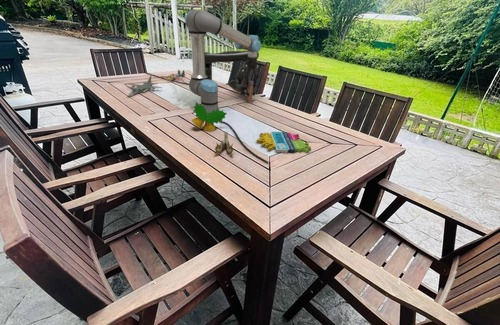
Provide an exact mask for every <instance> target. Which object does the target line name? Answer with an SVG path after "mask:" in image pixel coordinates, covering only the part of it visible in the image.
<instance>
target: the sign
mask: <svg viewBox="0 0 500 325" xmlns="http://www.w3.org/2000/svg"><path fill="white" fill-rule="evenodd" d="M299 136H300V135H299V134H298V133H296V134H294V133H291V132H287V131H270V132H264V133H263V132H260V133H259V139H258V138H257V139H256V143H257V144H261V148H263V147H264V148H265V149H267V151H268V152H271V151H272V150H273V149H275V152H276V153H283V154H285V153H287V154H288V153H290V154H293V153H296V152H298V153H301V152H305V153H310V151H311V150H312V149H311V148H312V146H309V142H304V141H303V139H302V138H299Z"/></svg>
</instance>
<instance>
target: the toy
mask: <svg viewBox="0 0 500 325" xmlns="http://www.w3.org/2000/svg"><path fill="white" fill-rule="evenodd" d="M185 76H186V73H185V70H182V72H181V70H180V69H178V70H177V74H176V73H171V74H169V75H168V76H163V75H160V77H161V78H160V79H162V78H166V79H165V80H166V81H169V82H172V81H171V80H177V81H178V80H180V81H185V78H184V77H185ZM180 77H181V78H180Z"/></svg>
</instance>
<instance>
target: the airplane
mask: <svg viewBox="0 0 500 325" xmlns="http://www.w3.org/2000/svg"><path fill="white" fill-rule="evenodd" d="M152 76H153V75H150V76H149V78H148V79H147V82H146V81H142V84H136V83H135V84H134V83H128V85H130V86H131V87H130V89H132V90H131V91H130V92H129V93H128V95H127V96H126V98H128V97H133V96H135V95H137V94H139V93H146V92H147V91H148V92H149V90H150V91H153V90H155V89H157V88H159V89H162V88H163V86H155V85H159V82H158V83H157V82H153V81H152Z"/></svg>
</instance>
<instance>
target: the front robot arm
mask: <svg viewBox="0 0 500 325" xmlns="http://www.w3.org/2000/svg"><path fill="white" fill-rule="evenodd" d="M184 18H185V19H184V24H185V25H186V27H187V29H188V35H190V39H191V58H192V59H191V60H192V61H191V62H192V74H191V75H190V79H189V82H188V84H189V85H188V88H189V90H190V92H191V93H193V94H194V95H196V96H197V97H200V104H201V106H204V109H206V112H208V113H211V112H212V110H214V111H216V110H217V109H219V111H221V110H220V108H219V102H218V99H219V98H218V97H219V87H218V82H216V80H213V79H212V80H208V77H207V75H206V74H205V52H206V49H205V48H206V46H205V37H206V36H207V33H210V34H212V35H214V36H220V37H222V38H224V39H226V40H227V41H230V42H233V43H234V47H235V49H236V50H243V51H248V60H247V65H243V64H242V66H244V74H243V79H244V80H245V81H244V82H245V86H246V87H247V88H248V81H249V79H248V78H249V75H250V73H251V70H252V72H253V77H254V78H253V80H252V81H254V85H253V88H256V84H257V79H259V78H260V68H261V65H259V64H258V59H257V58H256V57H257V52H258V53H259V52H260V50H261V49H262V42H261V41H259V35H255V34H249V35H246V34H245V33H243V32H241V31H239V30H237V29H235V28H234V27H232V26H230V25H229V24H227V23H225V22H223V20H222V19H221V18H219V17H217V16H215V14H212V13H211V12H210V11H207V10H199V9H194V10H193V9H191V10H190V11H188V12H187V13H186V14H185V17H184ZM247 67H248V71H247V73H246V68H247ZM208 113H207V115H208ZM218 123H222V124H225V125H227V126H228V127H229V128H230V129H231V130H232V132H233V133H234V134H235V136H236V138H237V140H238V141H239V143H240V144H241V145H242V146H243V147H244V148H245V149H246V150H247V151H248V152H249V153H251V155H253V156H255V157H256V158H258V159H259V160H261V161H263V162H264V163H267V164H269V161H268V160H266V159H264V158H263V157H260V156H259V155H258V154H256V153H254V152H253V151H252V150H250V148H248V147H247V146H246V145H245V144H244V143H243V141H242V140H241V138H240V137H239V135H238V134H237V132H236V130H235V129H234V128H233V127H232V126H231V125H230V123H228V122H226V121H223V120H222V122H221V121H219V122H218Z"/></svg>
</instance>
